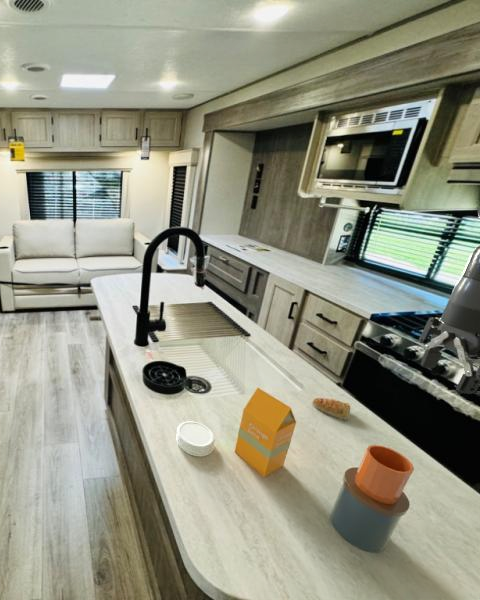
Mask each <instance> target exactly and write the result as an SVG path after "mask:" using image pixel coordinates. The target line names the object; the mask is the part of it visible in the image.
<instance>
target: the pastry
mask: <svg viewBox="0 0 480 600" xmlns="http://www.w3.org/2000/svg"><path fill="white" fill-rule="evenodd" d="M312 406H314V408H316V409H317V410H318V411H320V412H323V413H324V414H326V415H328V416H331V417H334V418H338V419H339V420H344V421H347V420H349V419H350V417H351V405H350V403H348V402H343V401H342V400H341V401H340V400H338V399H335V398H324V397H315V398H314V399H313V400H312Z"/></svg>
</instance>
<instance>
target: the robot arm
mask: <svg viewBox="0 0 480 600" xmlns="http://www.w3.org/2000/svg"><path fill="white" fill-rule="evenodd" d="M477 215H478V218H480V204H479V205H478V208H477ZM430 335H431V337H430ZM418 343H420V344H423V345H424V346H423V348H424V349H425V351H424V353H423V355H422V357H421V361H420V366H421V367H423V368H424V369H425V368H427V369H434V368H436V367H437V365H438V363H439V361H440V359H441V357H442V355H443V353H442V351H445V350H449V351H451V352H452V353H453V354H455V355H456V356H457V357H458V362H459V363H460V364H462V365H463V371H464V373H463V374H461V377H460V379H459V381H458V383H457V385H456V387H455V391H457V392H458V393H460V394H468V395H471V394H475V393H476V392H477V391H478V389H479V387H480V245H478V246H477V247H475V249H474V250H473V251H472V253H471V255H470V256H469V258H468V261H467V263H466V265H465V267H464V270H463V272H462V274H461V276H460V278H459V280H458V281H457V282H456V284H455V285H454V288H453V290H452V292H451V294H450V296H449V299H448V300H447V304H446V305H445V308H444V309H443V312H442V314H441V316H440V317H429V318H428V319H427V322H426V324H425V326H424V328H423V330H422V331H421V333H420V336H419V338H418ZM472 357H473V358H472ZM475 357H477V358H475ZM474 365H475V366H476V369H474V368H475V367H474Z"/></svg>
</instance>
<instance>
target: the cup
mask: <svg viewBox="0 0 480 600" xmlns="http://www.w3.org/2000/svg"><path fill="white" fill-rule="evenodd" d="M414 471H415V468H414V465H413V463H412V462H411V461H410V460H409V458H407V457H406V456H404V455H403V454H402V453H400V452H399V451H397V450H394V449H393V448H390V447H388V446H384V445H381V444H371V445H369V446H368V447H366V449H365V452H364V454H363V456H362V459H361V461H360V464H359V466H358V471H357V473H356V475H355V483H356V485H357V486H358V487H359V489H360V490H361V491H362V492H364V493H365V494H366V495H368V496H369V497H371V498H372V499H374V500H376V501H379V502H381V503H385V504H394V503H396V502H397V501H398V499H399V498H400V496H401V494H402V492H404V490H405V488H406V486H407V484H408V482H409V480H410V478H411V476H412V474H413V473H414Z"/></svg>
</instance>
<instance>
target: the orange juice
mask: <svg viewBox="0 0 480 600" xmlns="http://www.w3.org/2000/svg"><path fill="white" fill-rule="evenodd" d="M296 424H297V421H296V418H295V416H294V412H293V410H292V407H291V406H289V405H287V404H286V403H284V402H282V401H280V400H279V399H277V398H276V397H275V396H272V395H271V394H269V393H268V392H266V391H265V390H263V389H261V388H260V387H257V388H256V390H255V391H254V393H253V394H252V395H251V397H250V399H249V401H248V402H247V404H246V405H245V406H244V408H243V410H242V414H241V420H240V425H239V428H238V432H237V439H236V443H235V448H234V453H236V454H237V455H238V456H239V457H240V459H242V460H244V462H246V463H247V464H248V465H249V466H251V467H252V468H253V469H254V470H255V471H256V472H257V473H258V474H260V475H261V476H262V477H263V478H265V477H267V476H268V475H270V474H272V473H273V472H276V471H277V470H278V469H280V468H283V467H284V464H285V462H286V458H287V455H288V451H289V449H290V446H291V442H292V438H293V434H294V432H295V429H296Z"/></svg>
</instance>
